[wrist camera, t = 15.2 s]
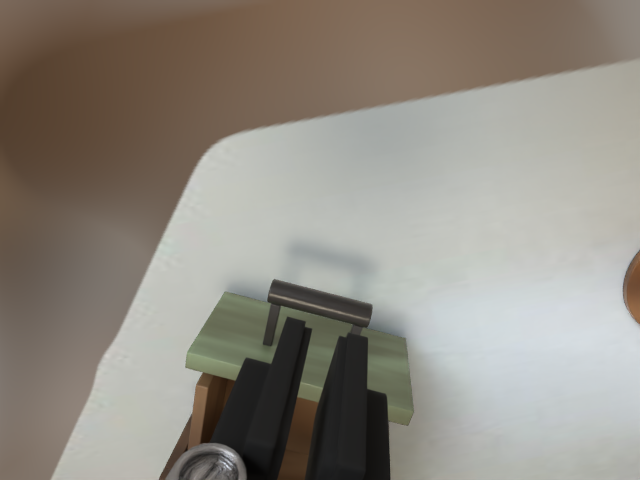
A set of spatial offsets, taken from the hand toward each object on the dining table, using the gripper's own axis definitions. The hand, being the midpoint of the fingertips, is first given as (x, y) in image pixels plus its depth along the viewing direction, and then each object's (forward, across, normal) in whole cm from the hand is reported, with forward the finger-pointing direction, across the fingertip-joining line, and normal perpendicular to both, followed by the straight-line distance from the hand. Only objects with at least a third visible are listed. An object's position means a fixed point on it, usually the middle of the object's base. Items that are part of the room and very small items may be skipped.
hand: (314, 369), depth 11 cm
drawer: (+16, 0, +14) cm, 21 cm away
